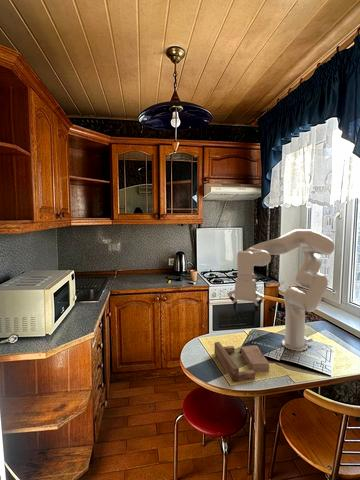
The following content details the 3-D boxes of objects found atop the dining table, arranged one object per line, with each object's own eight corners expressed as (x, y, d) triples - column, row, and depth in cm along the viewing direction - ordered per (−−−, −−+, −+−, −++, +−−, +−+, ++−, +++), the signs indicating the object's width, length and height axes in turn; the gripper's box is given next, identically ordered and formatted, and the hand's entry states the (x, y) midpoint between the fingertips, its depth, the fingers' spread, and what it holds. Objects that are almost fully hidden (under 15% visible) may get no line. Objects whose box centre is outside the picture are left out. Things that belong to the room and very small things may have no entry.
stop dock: (232, 351, 138) (232, 340, 138) (255, 379, 115) (255, 365, 114) (214, 353, 136) (214, 342, 136) (233, 382, 113) (233, 369, 112)
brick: (270, 372, 120) (270, 362, 119) (251, 373, 119) (252, 363, 119) (256, 353, 136) (256, 344, 136) (240, 354, 136) (240, 345, 135)
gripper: (265, 276, 127) (265, 311, 129) (229, 273, 135) (230, 306, 136) (263, 280, 120) (263, 316, 122) (225, 277, 128) (226, 311, 130)
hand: (245, 311), depth 129 cm, fingers open, 9 cm apart
